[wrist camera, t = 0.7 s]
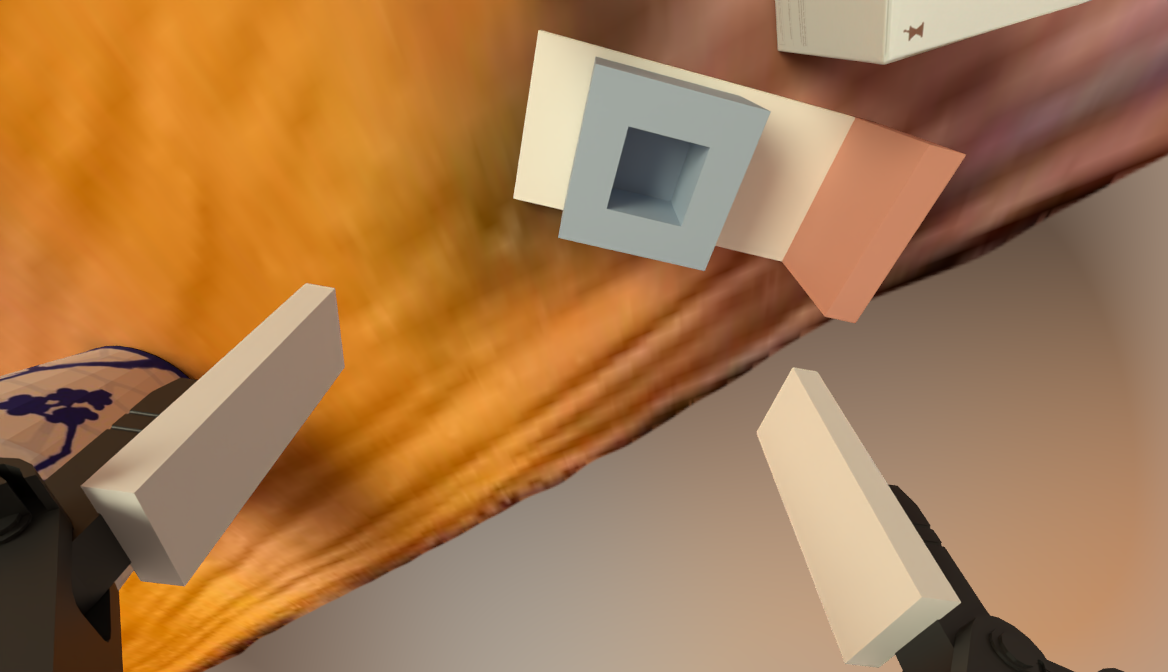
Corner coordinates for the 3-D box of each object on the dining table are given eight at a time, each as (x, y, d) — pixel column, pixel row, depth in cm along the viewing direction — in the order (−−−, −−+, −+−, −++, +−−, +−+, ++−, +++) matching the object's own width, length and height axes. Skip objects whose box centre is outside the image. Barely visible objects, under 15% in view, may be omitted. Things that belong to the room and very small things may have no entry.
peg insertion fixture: (540, 29, 28) (520, 32, 20) (875, 122, 30) (966, 154, 23) (515, 193, 33) (492, 242, 26) (801, 260, 36) (855, 323, 28)
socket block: (595, 56, 27) (595, 63, 22) (740, 96, 28) (770, 111, 23) (564, 204, 32) (558, 237, 27) (688, 233, 33) (704, 271, 28)
